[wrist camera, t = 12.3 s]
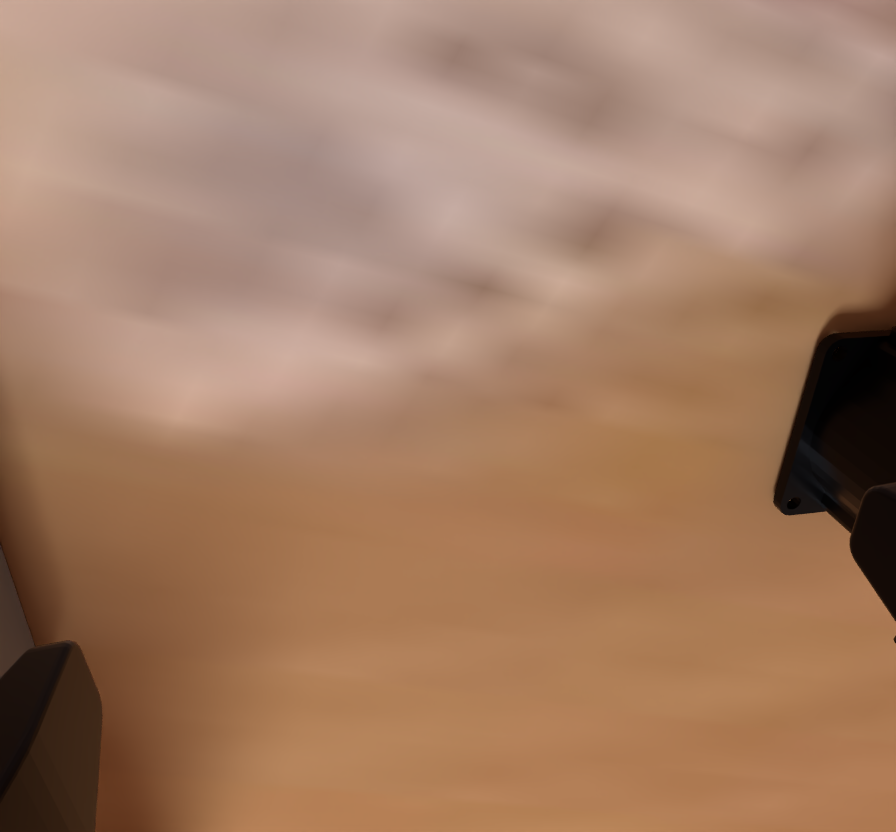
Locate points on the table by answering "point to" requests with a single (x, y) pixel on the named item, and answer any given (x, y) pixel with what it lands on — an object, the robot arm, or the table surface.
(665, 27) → the table surface
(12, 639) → the box
